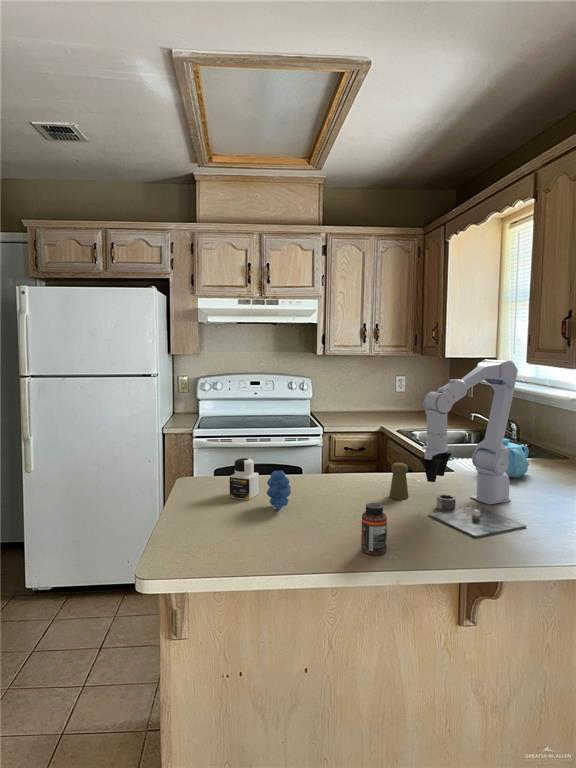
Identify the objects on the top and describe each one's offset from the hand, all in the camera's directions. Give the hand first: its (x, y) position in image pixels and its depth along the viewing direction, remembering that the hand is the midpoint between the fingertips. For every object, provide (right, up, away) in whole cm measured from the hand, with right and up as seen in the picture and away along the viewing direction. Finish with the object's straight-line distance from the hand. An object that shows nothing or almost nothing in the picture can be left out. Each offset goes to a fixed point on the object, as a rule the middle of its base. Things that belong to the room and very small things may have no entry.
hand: (435, 478), depth 150 cm
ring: (+4, -9, +2) cm, 10 cm away
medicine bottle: (-58, -8, +14) cm, 60 cm away
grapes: (-46, -10, +2) cm, 47 cm away
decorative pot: (+37, -6, +40) cm, 55 cm away
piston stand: (+9, -10, -9) cm, 16 cm away
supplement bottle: (-23, -12, -29) cm, 39 cm away
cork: (-8, -9, +13) cm, 18 cm away
